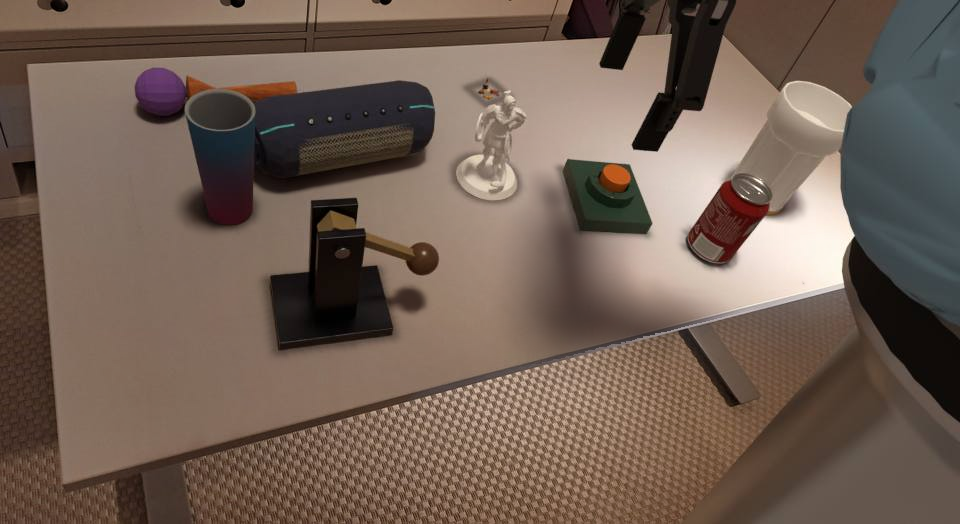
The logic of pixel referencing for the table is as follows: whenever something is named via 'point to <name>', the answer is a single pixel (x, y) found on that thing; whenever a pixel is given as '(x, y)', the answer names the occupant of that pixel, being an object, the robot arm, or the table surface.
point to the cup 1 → (224, 151)
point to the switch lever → (388, 245)
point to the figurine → (492, 172)
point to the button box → (605, 200)
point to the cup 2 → (795, 138)
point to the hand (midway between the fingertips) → (626, 105)
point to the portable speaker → (341, 127)
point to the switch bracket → (331, 287)
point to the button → (614, 178)
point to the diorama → (488, 91)
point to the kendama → (191, 90)
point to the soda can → (730, 218)
